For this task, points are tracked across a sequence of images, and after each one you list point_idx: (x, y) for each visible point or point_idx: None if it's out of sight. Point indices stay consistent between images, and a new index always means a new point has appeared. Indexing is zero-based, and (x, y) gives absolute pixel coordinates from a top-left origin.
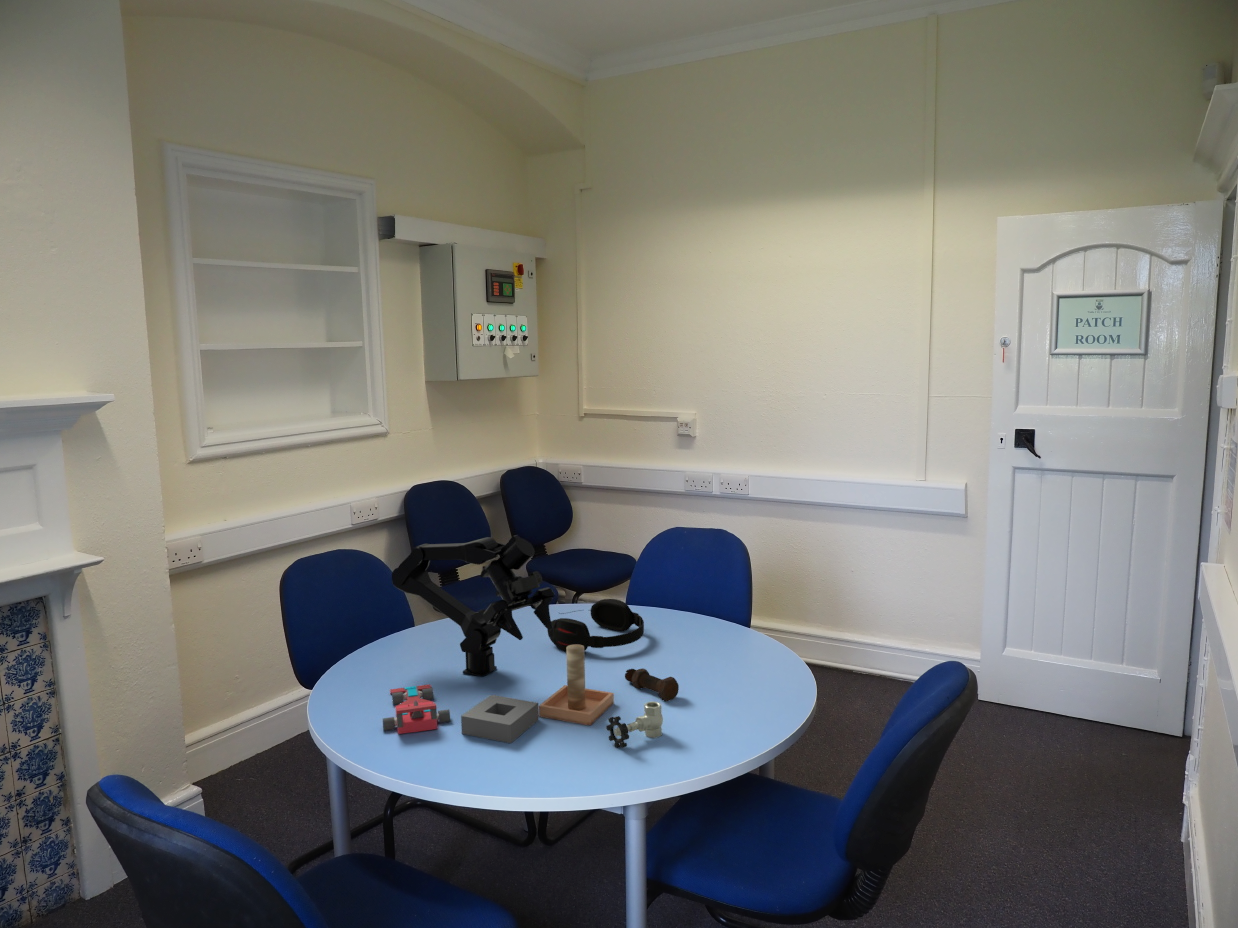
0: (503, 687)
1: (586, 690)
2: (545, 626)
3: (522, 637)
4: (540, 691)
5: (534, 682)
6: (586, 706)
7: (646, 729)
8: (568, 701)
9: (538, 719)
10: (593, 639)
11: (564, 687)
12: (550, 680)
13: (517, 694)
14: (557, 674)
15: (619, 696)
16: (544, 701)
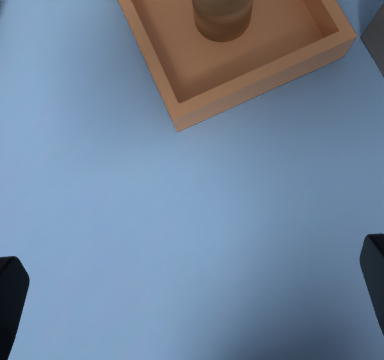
0: (299, 352)
1: (147, 36)
2: (12, 338)
3: (372, 235)
4: (217, 216)
5: (181, 301)
6: None
7: None
8: (251, 7)
9: (361, 36)
10: None
11: (187, 102)
12: (128, 272)
13: (296, 254)
14: (72, 300)
15: (66, 14)
16: (320, 51)
